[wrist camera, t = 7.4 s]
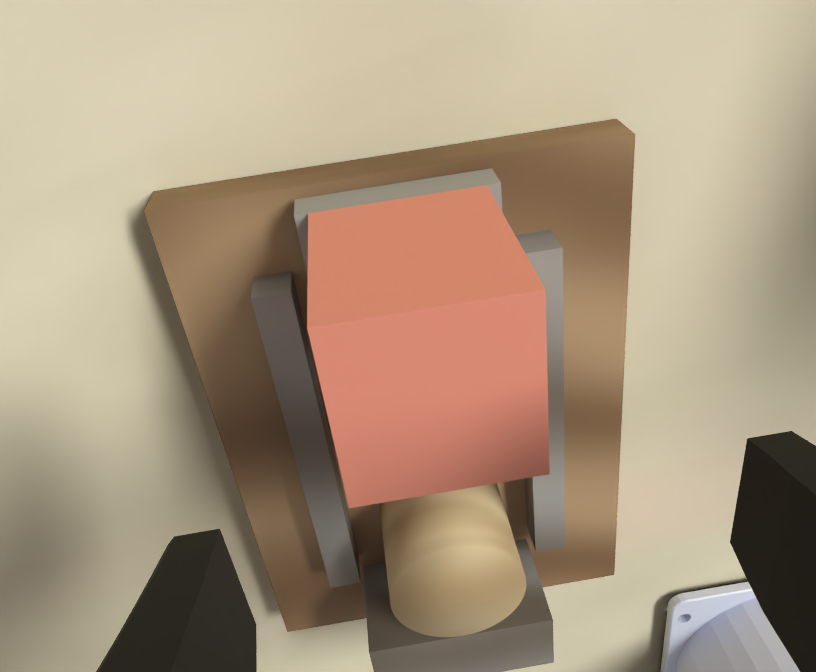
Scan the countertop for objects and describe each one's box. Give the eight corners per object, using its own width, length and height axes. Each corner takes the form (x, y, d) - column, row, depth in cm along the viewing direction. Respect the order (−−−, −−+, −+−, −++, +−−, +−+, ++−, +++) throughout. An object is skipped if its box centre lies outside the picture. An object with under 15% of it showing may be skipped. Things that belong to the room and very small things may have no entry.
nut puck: (503, 534, 23) (529, 623, 20) (389, 555, 23) (400, 647, 20) (495, 449, 21) (523, 535, 18) (370, 471, 21) (380, 561, 18)
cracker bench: (602, 546, 26) (649, 655, 22) (288, 601, 25) (284, 720, 22) (616, 118, 17) (694, 181, 14) (153, 191, 17) (112, 274, 14)
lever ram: (501, 320, 18) (565, 471, 14) (327, 349, 18) (333, 511, 14) (491, 168, 16) (563, 286, 12) (294, 199, 16) (288, 331, 11)
